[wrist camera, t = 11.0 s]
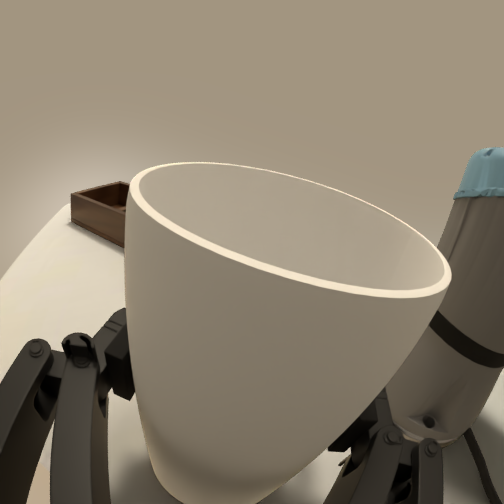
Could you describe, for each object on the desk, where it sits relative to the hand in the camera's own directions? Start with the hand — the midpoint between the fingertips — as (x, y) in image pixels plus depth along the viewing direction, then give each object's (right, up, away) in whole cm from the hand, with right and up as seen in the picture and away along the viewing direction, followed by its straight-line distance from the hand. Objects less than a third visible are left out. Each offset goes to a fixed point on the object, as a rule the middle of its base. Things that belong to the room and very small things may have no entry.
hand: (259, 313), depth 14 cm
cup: (-3, -10, 0) cm, 10 cm away
